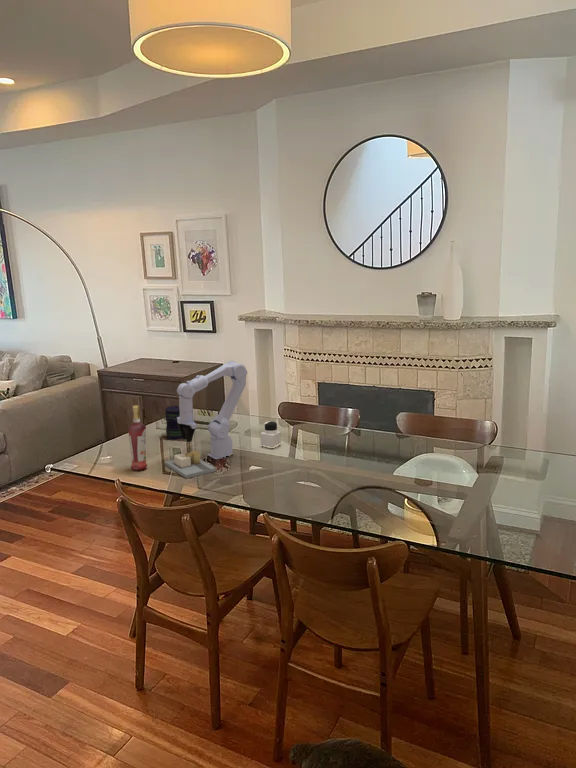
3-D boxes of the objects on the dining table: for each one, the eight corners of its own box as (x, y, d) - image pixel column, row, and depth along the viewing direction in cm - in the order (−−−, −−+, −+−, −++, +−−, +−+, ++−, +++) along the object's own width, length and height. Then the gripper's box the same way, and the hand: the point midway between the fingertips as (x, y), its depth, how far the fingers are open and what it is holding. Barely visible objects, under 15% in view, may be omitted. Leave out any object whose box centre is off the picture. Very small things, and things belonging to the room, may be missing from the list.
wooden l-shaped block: (196, 460, 260) (196, 450, 259) (200, 463, 257) (200, 452, 256) (184, 463, 256) (184, 453, 255) (188, 465, 254) (187, 455, 253)
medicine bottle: (280, 445, 286) (280, 421, 283) (272, 449, 280) (272, 425, 277) (268, 443, 289) (268, 419, 287) (260, 447, 284) (260, 423, 281)
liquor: (143, 472, 250) (140, 408, 244) (127, 471, 252) (123, 407, 246) (150, 466, 257) (147, 404, 251) (135, 465, 259) (131, 403, 253)
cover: (183, 461, 260) (182, 452, 259) (190, 465, 254) (190, 456, 253) (174, 463, 257) (173, 454, 256) (181, 467, 252) (181, 458, 251)
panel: (193, 458, 268) (193, 455, 267) (215, 471, 252) (215, 467, 252) (164, 464, 260) (164, 461, 259) (186, 478, 244) (186, 475, 244)
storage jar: (184, 440, 293) (183, 411, 290) (164, 439, 293) (163, 410, 290) (187, 434, 303) (186, 405, 300) (168, 433, 303) (167, 405, 300)
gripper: (170, 408, 262) (171, 437, 265) (185, 415, 250) (186, 446, 253) (184, 406, 266) (185, 435, 269) (200, 413, 254) (201, 443, 257)
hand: (187, 440), depth 261 cm, fingers open, 3 cm apart
